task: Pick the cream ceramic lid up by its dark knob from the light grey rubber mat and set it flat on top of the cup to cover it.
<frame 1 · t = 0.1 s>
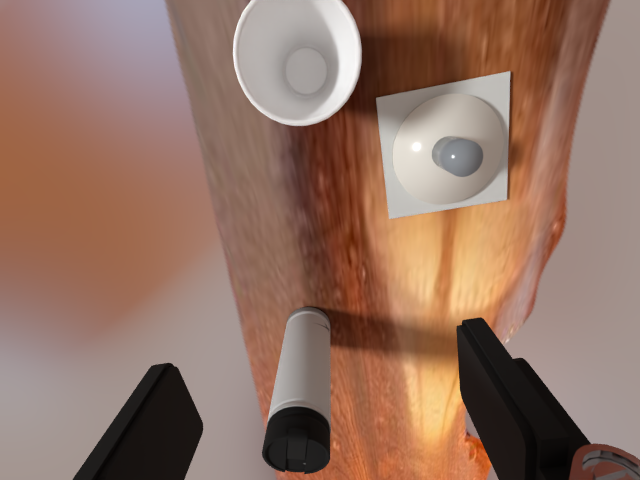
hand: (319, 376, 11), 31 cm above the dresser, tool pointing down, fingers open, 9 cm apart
travel mug: (308, 322, 48), on the dresser
lid: (444, 151, 38), resting on mat
cup: (306, 72, 36), on the dresser
mat: (443, 150, 38), on the dresser
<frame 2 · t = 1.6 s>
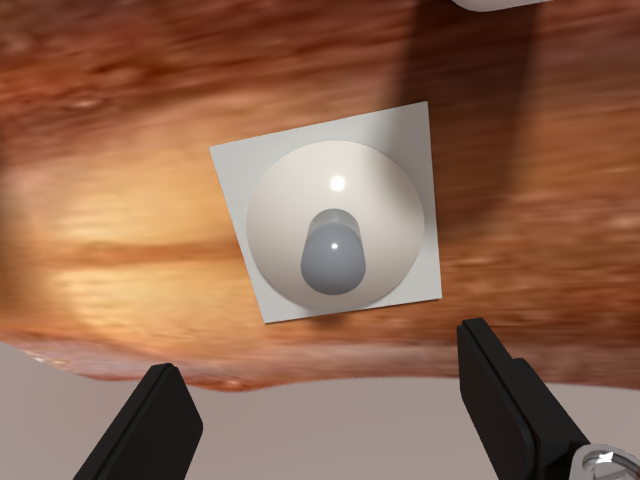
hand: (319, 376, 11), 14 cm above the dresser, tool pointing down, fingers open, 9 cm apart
lid: (334, 228, 23), resting on mat
mat: (334, 225, 24), on the dresser
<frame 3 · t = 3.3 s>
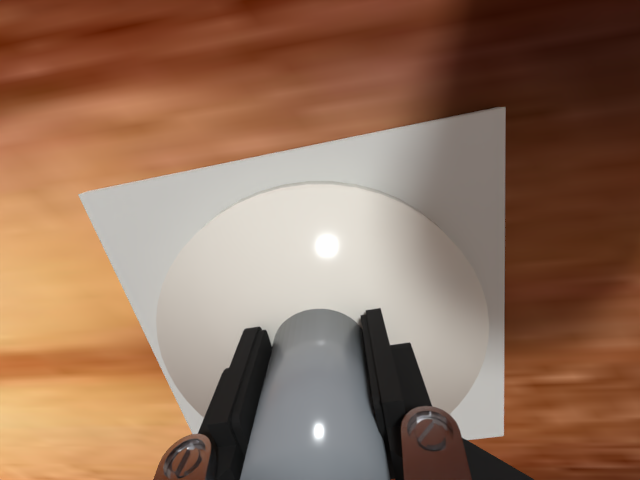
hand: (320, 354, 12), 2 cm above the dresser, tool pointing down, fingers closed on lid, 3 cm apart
lid: (321, 332, 13), resting on mat, touching gripper
mat: (321, 324, 13), on the dresser
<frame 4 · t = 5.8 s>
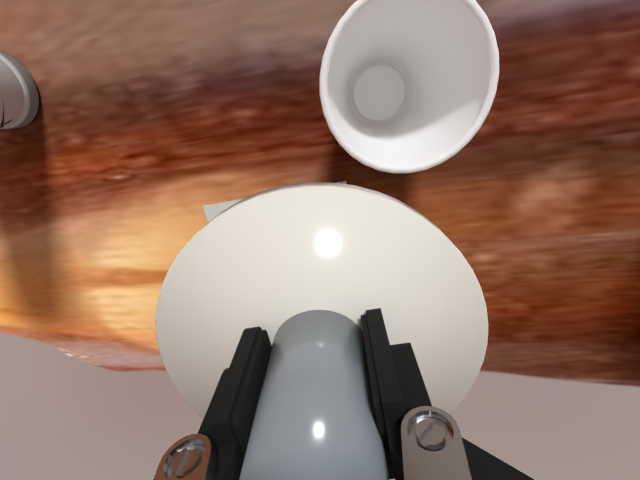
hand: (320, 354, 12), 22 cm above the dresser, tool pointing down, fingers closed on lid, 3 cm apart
travel mug: (8, 90, 29), on the dresser
lid: (320, 332, 13), point 20 cm above the dresser, touching gripper
cup: (378, 93, 29), on the dresser
mat: (289, 258, 34), on the dresser
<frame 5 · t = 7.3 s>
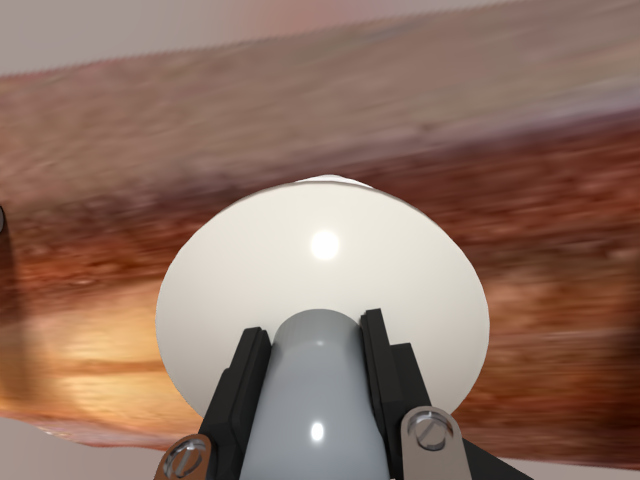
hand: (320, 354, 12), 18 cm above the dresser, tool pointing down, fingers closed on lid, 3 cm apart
lid: (320, 332, 13), point 17 cm above the dresser, touching gripper
when the fingers open (14 cm above the dresser, at t = 8.3 s): lid drops 2 cm, resting on cup.
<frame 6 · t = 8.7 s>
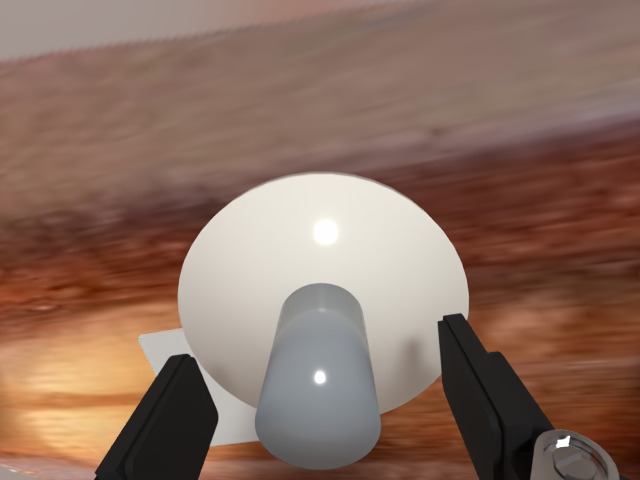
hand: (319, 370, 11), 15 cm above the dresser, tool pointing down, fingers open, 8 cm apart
lid: (322, 306, 15), point 11 cm above the dresser, touching cup
mat: (238, 384, 31), on the dresser
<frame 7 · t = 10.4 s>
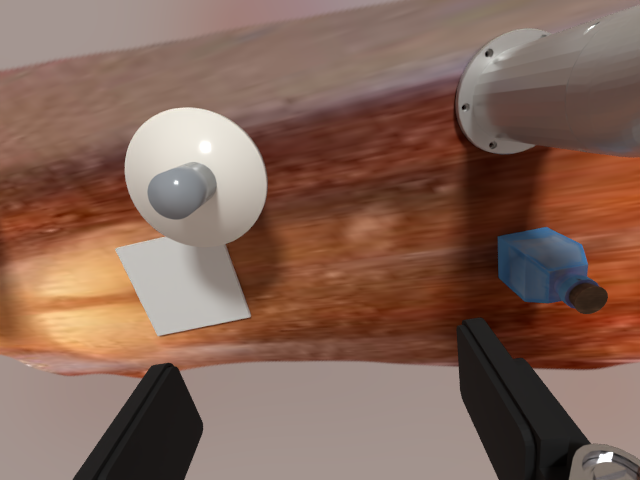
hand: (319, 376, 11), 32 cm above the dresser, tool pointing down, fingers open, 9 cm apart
lid: (200, 180, 29), point 11 cm above the dresser, touching cup
perfume bottle: (520, 252, 44), on the dresser
mat: (186, 282, 45), on the dresser
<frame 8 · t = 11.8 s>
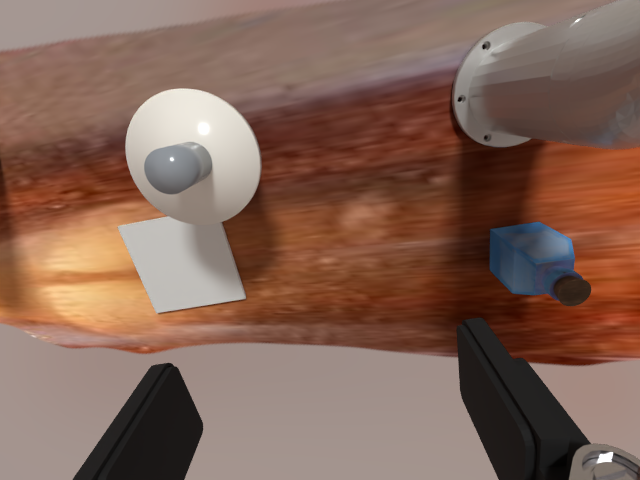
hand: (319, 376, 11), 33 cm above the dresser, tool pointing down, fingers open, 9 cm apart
lid: (197, 160, 31), point 11 cm above the dresser, touching cup
perfume bottle: (512, 246, 45), on the dresser
mat: (185, 262, 47), on the dresser
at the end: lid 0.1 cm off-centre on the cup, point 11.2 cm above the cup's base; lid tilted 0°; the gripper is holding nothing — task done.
